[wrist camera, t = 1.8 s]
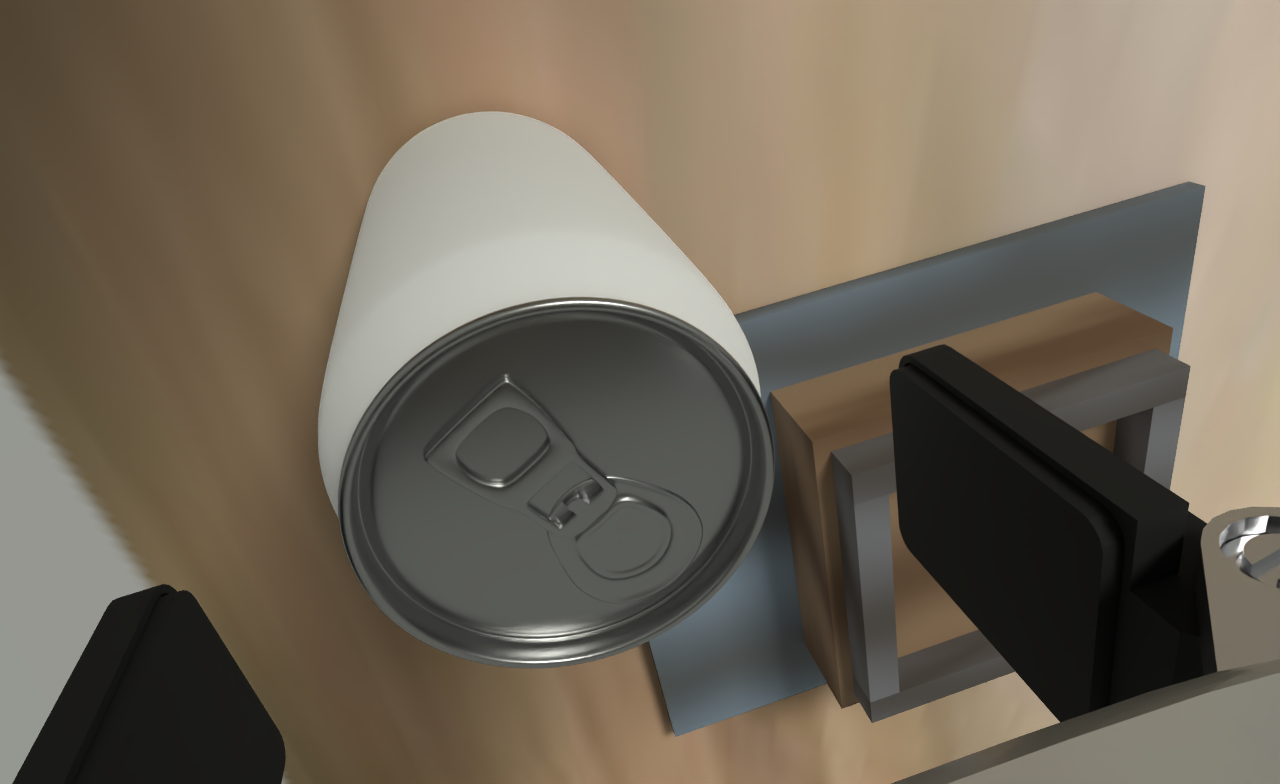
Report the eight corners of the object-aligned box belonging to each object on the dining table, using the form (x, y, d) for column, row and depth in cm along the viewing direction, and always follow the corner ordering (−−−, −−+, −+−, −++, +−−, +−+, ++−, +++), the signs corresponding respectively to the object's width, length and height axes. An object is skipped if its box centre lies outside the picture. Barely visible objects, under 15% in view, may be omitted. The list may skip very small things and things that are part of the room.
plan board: (571, 363, 23) (604, 449, 18) (1188, 181, 25) (1342, 223, 21) (671, 723, 31) (710, 840, 26) (1132, 562, 33) (1235, 647, 29)
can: (500, 397, 23) (565, 752, 12) (306, 241, 19) (173, 543, 9) (667, 237, 22) (892, 477, 11) (491, 46, 18) (578, 136, 8)
